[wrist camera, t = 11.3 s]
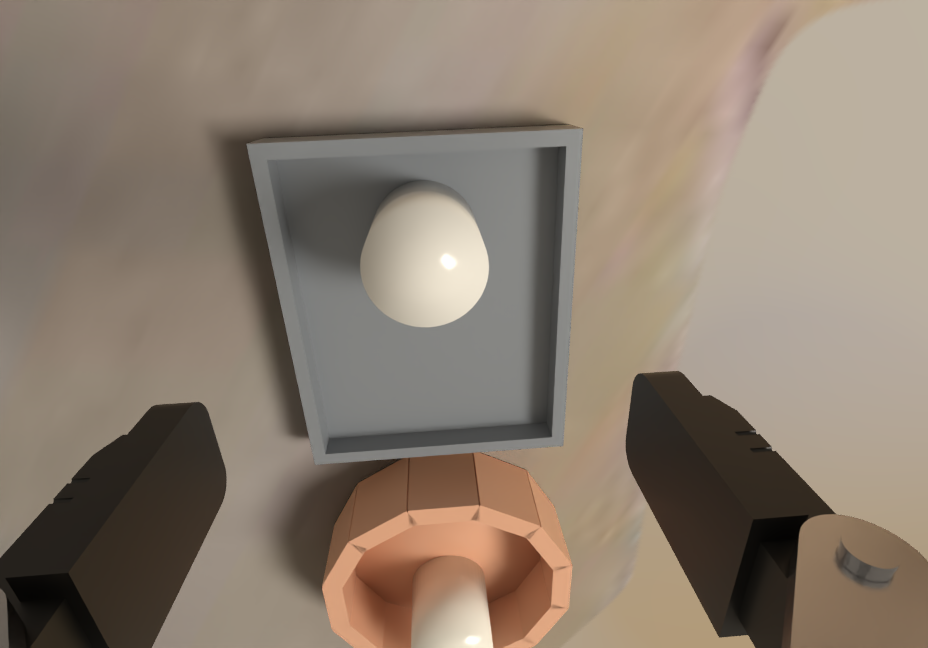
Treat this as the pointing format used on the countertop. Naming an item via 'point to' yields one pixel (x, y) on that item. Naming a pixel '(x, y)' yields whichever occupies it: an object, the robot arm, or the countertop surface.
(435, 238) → the cream rounded piece
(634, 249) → the countertop surface
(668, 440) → the robot arm
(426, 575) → the cream rounded lump
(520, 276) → the tray
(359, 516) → the bowl
